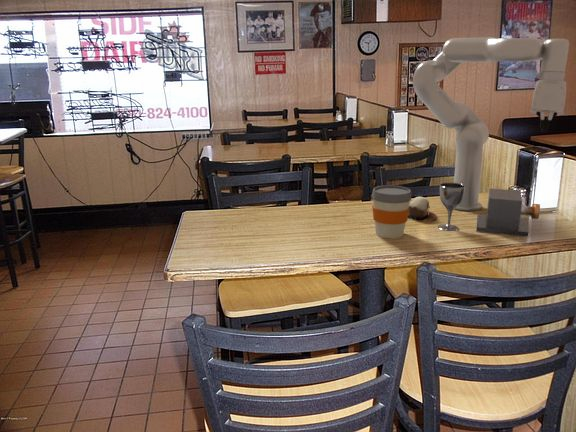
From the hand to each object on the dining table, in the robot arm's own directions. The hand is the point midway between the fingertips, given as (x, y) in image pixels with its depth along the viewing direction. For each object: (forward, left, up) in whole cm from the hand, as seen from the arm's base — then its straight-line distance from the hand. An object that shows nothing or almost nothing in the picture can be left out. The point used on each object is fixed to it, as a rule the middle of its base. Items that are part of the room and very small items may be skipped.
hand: (544, 131), depth 189 cm
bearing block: (-11, -18, -31) cm, 37 cm away
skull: (-39, -15, -31) cm, 52 cm away
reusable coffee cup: (-46, -38, -31) cm, 67 cm away
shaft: (-8, -18, -27) cm, 33 cm away
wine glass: (-28, -25, -31) cm, 49 cm away
